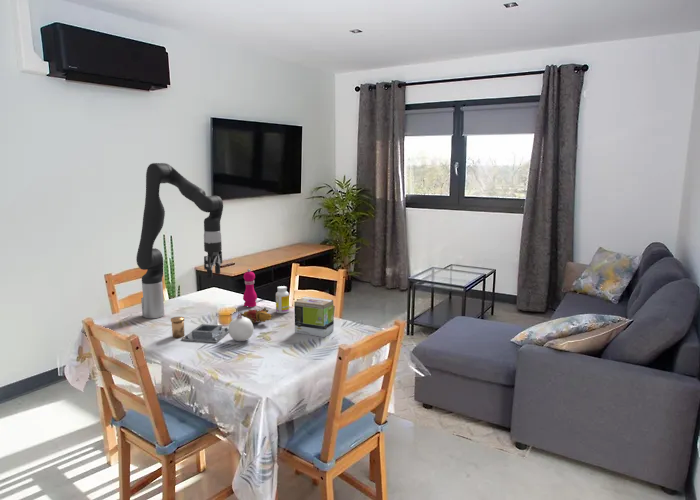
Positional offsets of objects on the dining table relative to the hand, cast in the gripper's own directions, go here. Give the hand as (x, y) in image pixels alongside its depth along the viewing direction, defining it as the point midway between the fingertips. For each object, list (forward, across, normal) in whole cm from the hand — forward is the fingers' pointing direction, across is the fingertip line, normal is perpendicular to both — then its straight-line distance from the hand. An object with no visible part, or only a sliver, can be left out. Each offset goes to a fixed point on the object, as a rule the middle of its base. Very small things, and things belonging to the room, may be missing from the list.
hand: (213, 276), depth 224 cm
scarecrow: (+24, -9, +17) cm, 31 cm away
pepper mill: (+24, -34, +4) cm, 42 cm away
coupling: (+24, +12, +1) cm, 27 cm away
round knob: (+24, +14, -11) cm, 30 cm away
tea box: (+24, 0, +46) cm, 52 cm away
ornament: (+24, +15, +18) cm, 34 cm away
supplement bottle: (+24, -27, +24) cm, 43 cm away
